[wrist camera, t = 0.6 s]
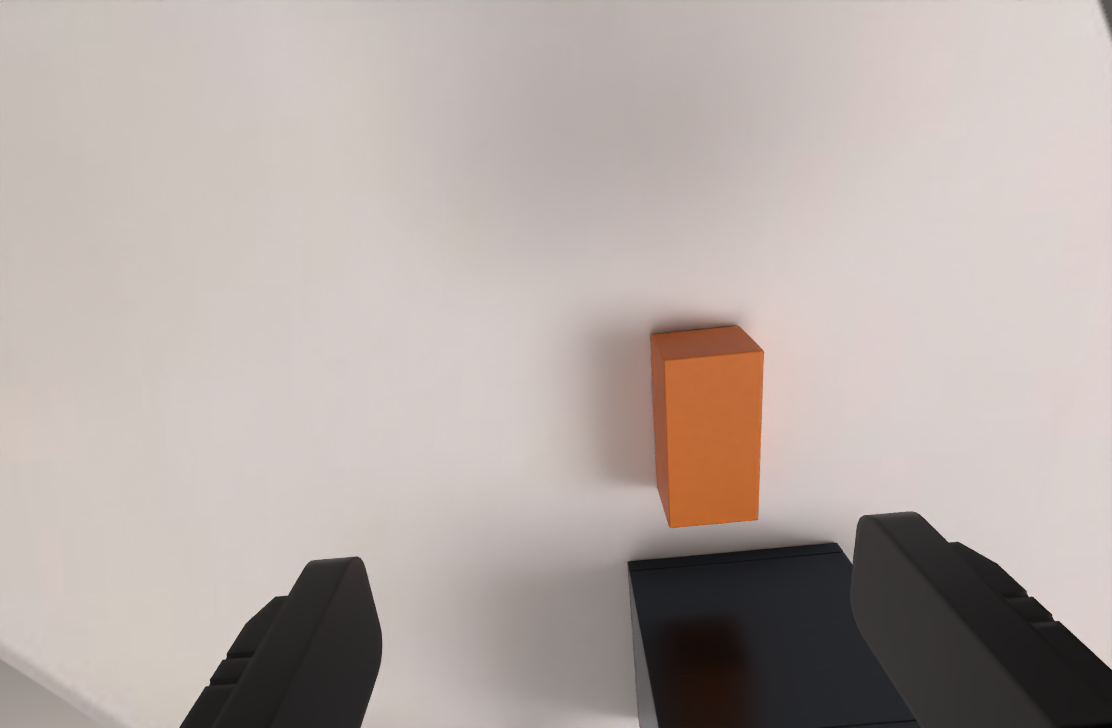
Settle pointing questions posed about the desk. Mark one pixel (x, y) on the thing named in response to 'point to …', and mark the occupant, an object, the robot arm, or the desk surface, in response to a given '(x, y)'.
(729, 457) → the orange rectangular block
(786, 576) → the black open box
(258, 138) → the desk surface
